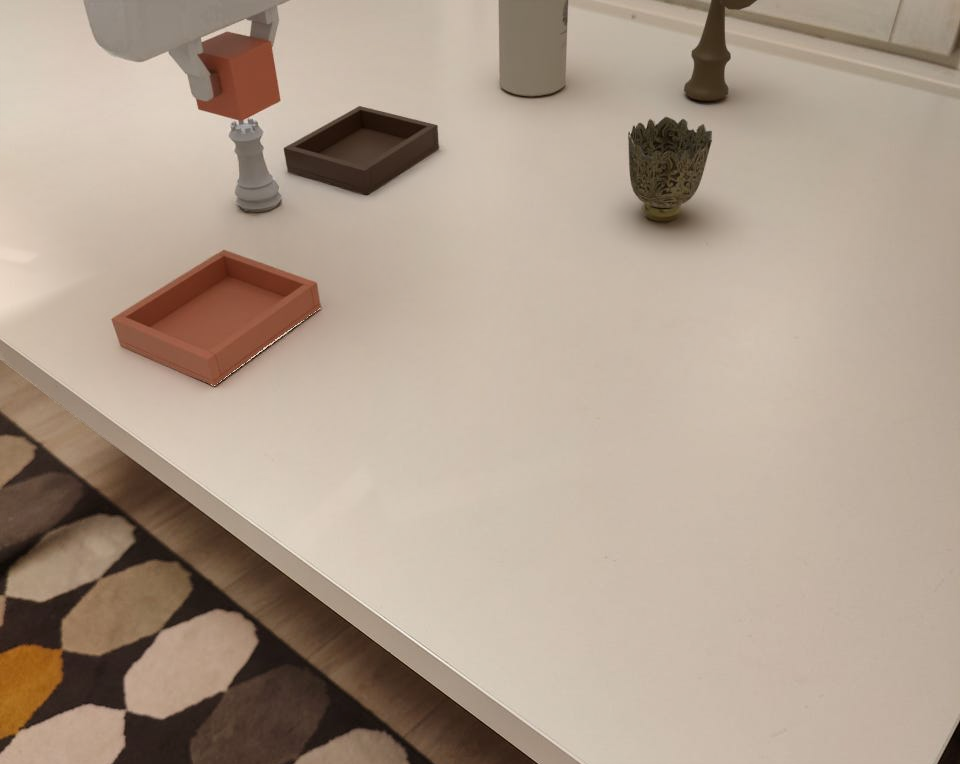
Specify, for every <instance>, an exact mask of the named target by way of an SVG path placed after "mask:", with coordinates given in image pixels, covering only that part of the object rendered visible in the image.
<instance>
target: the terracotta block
mask: <svg viewBox="0 0 960 764" xmlns="http://www.w3.org/2000/svg"><path fill="white" fill-rule="evenodd" d="M201 42H202V47H203V53H201V54H198V57H199V58H200V59H201V61H202V62H203V64H204V65H205V67H206V68H207V69H208V70H212V71H216V72H218V73H219V78H220V86H221V88H222V93H221V95H219V96H217V97H215V98H213V99H211V100H209V101H202V100H198V99H196V98H195V101H196V105H197V109H198V111H202V112H205V113H210V114H213V115H217V116H220V117H223V118H224V117H225V118H227V119H232V120H234V121H235V120H236V121H238V120H239V121H243V120H244V121H245V120H246V119H248V118H251V117H253V116H255V115H256V114H259V113H260V112H262V111H264V110H266V109H268V108H270V107H272V106H275V105H276V104H278V103H280V102H281V95H280V94H281V93H280V88H279V82H278V76H277V70H276V63H275V56H274V50H273V47H272V44H271V41H268V40H264V39H259V38H255V37H250V35H245V34H241V33H237V32H231V31H225V32H222V33H220V34H218V35H215V36H212V37H210V38H208V39H206V40H203V41H201Z"/></svg>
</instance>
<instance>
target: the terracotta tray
mask: <svg viewBox="0 0 960 764" xmlns="http://www.w3.org/2000/svg"><path fill="white" fill-rule="evenodd" d="M319 308H321V309H322V305H321V300H320V293H319V288H318V283H317V281H314V280H311V279H309V278H305V277H303V276H300V275H297V274H294V273H291V272H289V271H286V270H283V269H280V268H277V267H274V266H272V265H268V264H265V263H263V262H260V261H257V260H255V259H252V258H249V257H246V256H243V255H240V254H237V253H235V252H231V251H229V250H226V249H222V250H221V251H219V252H218V253H215V254H214V255H211V256H210V257H209V258H207V259H206V260H204V261H202V262H201V263H199V264H198V265H196V266H195V267H193V268H191V269H190V270H188V271H187V272H185V273H183V274H181V275H180V276H178V277H176V278H175V279H173V280H172V281H170V282H168V283H167V284H165V285H164V286H162V287H160V288H158V289H157V290H156V291H154V292H152V293H151V294H148V296H146V297H144V298H142V299H141V300H139V301H138V302H136V303H135V304H133V305H131V306H129V307H128V308H126V309H125V310H123V311H121V312H120V313H118V314H117V315H115V316H113V317H112V318H111V319H110V320H111V322H112V325H113V328H114V331H115V334H116V338H117V340H118V343H119V346H120V347H122V348H125V349H127V350H129V351H132V352H134V353H136V354H138V355H141V356H143V357H145V358H147V359H150V360H152V361H154V362H156V363H159V364H162V365H163V366H166V367H168V368H171V369H173V370H175V371H177V372H179V371H180V373H181V374H184V375H186V376H189V377H191V378H193V377H194V378H193V379H195V378H197V379H196V380H198V379H199V380H198V381H200V380H202V381H204V382H203V383H205V382H207V383H209V384H212V385H213V386H212V387H214V385H217V383H219V382H220V381H221V380H223V379H224V378H225V377H226V376H228V375H229V374H230V373H232V372H233V371H234V370H236V369H237V368H239V367H240V366H241V365H242V364H244V363H246V362H247V361H248V360H249V359H251V357H253V356H254V355H256V354H257V353H258V352H259V351H261V350H263V348H264V347H266V346H267V345H269V344H270V343H272V342H273V341H275V339H277V338H278V337H280V336H281V335H283V334H284V333H285V332H287V331H288V330H290V329H291V328H293V327H294V326H295V325H297V324H298V323H300V322H301V321H303V320H305V319H306V318H307V317H309V315H311V314H313V313H314V312H315V311H317V310H318V309H319ZM202 381H201V382H202ZM207 383H206V384H207ZM209 384H208V385H209ZM217 386H218V385H217Z"/></svg>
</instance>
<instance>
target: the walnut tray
mask: <svg viewBox="0 0 960 764" xmlns="http://www.w3.org/2000/svg"><path fill="white" fill-rule="evenodd" d="M439 149H440V143H439V125H438V124H435V123H431V122H427V121H422V120H419V119H416V118H415V119H414V118H411V117H407V116H402V115H398V114H394V113H390V112H385V111H381V110H378V109H373V108H370V107H366V106H362V105H358V106H356V107H355V108H353V109H351V110H350V111H348V112H346V113H344V114H342V115H341V116H339V117H337V118H335V119H333V120H332V121H330V122H328V123H326V124H325V125H322V126H321V127H319V128H317V129H315V130H313V131H312V132H310V133H308V134H306V135H304V136H303V137H301V138H299V139H297V140H295V141H294V142H292V143H290V144H288V145H286V146H285V147H283V153H284V158H285V164H286V169H287V172H288V173H291V174H294V175H297V176H301V177H304V178H308V179H311V180H315V181H318V182H321V183H325V184H328V185H331V186H335V187H338V188H341V189H344V190H348V191H352V192H355V193H359V194H362V195H365V196H368V195H370V194H372V193H373V192H375V191H376V190H378V189H379V188H381V187H382V186H384V185H386V184H387V183H388V182H390V181H392V180H393V179H394V178H396V177H398V176H399V175H401V174H402V173H404V172H405V171H408V169H410V168H412V167H413V166H415V165H416V164H418V163H419V162H420V161H422V160H424V159H425V158H427V157H428V156H430V155H431V154H433V153H435V152H436V151H437V150H439Z"/></svg>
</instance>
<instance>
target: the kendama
mask: <svg viewBox="0 0 960 764" xmlns="http://www.w3.org/2000/svg"><path fill="white" fill-rule="evenodd" d="M757 1H758V0H710V5H709V8H708V12H707V15H706V20H705V24H704V27H703V30H702V34H701V36H700V40H699V42H698V44H697V45H696V47H694V48H693V49H692V50H691V55H690V56H691V58H692V60H693V70H692V74H691V77H690V79H689V80H688V81H686V83H685V84H684V87H683V92H684V94H685V95H687V97H689V98H691V99H692V100H693V99H694V100H698V101H703V102H711V101H718V100H722V99H724V98H726V97H727V96H728V95H729V86H728V85H727V83H726V78H725V70H726V66H727V63H728V62H730V60H731V58H732V54H731V52H730V51H729V50H728V48H727V42H726V9H727V10H732V11H733V10H734V11H735V10H736V11H740V10H744V9H746V8H749V7H751V6H752V5H753V4H754V3H756V2H757Z"/></svg>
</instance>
